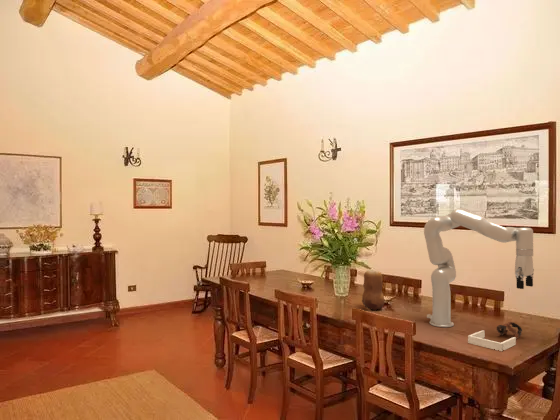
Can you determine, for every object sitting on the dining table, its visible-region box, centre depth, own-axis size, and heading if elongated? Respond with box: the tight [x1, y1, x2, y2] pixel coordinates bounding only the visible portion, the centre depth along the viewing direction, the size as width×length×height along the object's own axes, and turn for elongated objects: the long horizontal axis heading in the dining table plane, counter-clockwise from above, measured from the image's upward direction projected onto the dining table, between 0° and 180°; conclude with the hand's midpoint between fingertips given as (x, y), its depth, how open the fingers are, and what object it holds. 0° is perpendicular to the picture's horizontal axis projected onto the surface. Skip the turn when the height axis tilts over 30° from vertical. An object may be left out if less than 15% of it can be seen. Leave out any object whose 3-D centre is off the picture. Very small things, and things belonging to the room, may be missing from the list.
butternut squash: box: [361, 269, 385, 311], centre depth 284 cm, size 14×13×25 cm
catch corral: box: [467, 329, 517, 352], centre depth 214 cm, size 16×14×4 cm
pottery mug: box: [496, 321, 523, 340], centre depth 225 cm, size 12×10×8 cm
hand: (524, 287), depth 220 cm, fingers open, 9 cm apart
